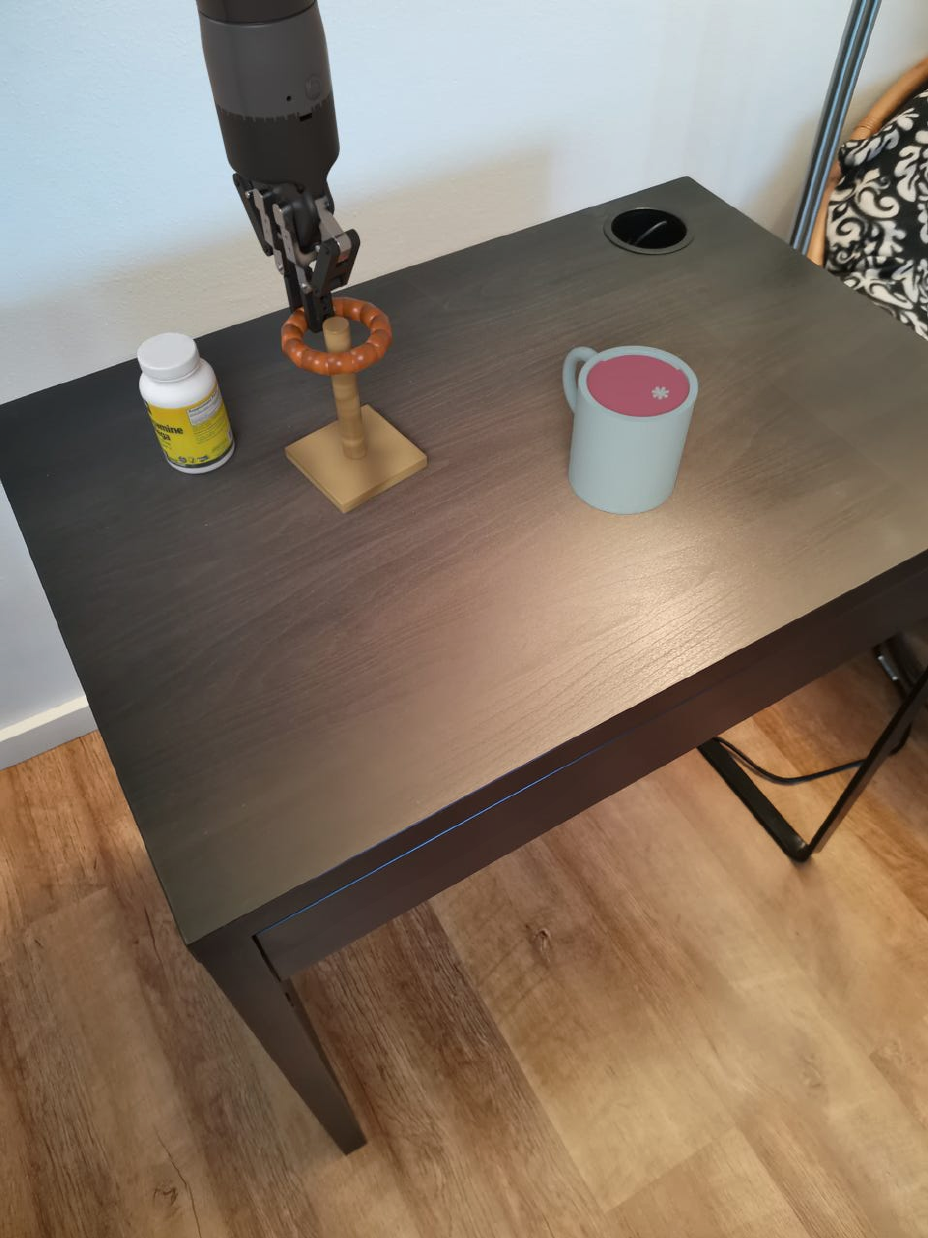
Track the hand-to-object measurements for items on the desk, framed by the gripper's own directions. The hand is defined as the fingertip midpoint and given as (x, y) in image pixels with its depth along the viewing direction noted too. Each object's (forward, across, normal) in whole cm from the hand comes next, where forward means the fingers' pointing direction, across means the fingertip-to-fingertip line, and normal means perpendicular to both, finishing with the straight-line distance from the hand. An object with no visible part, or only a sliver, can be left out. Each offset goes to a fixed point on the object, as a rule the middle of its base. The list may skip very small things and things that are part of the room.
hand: (313, 320), depth 69 cm
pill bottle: (+13, -7, -10) cm, 18 cm away
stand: (+13, +3, 0) cm, 13 cm away
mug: (+13, +17, +17) cm, 28 cm away
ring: (0, +3, 0) cm, 3 cm away
